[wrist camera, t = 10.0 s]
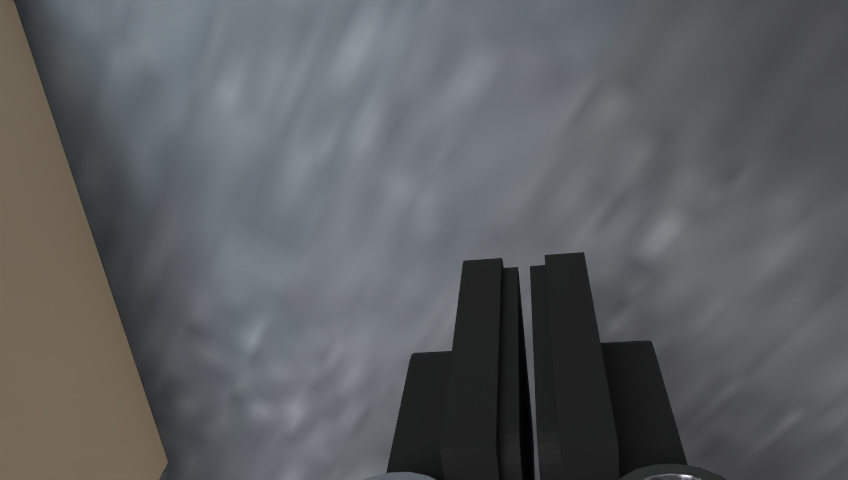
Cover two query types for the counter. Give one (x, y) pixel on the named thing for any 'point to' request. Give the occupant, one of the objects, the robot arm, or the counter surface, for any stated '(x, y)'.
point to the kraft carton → (58, 307)
